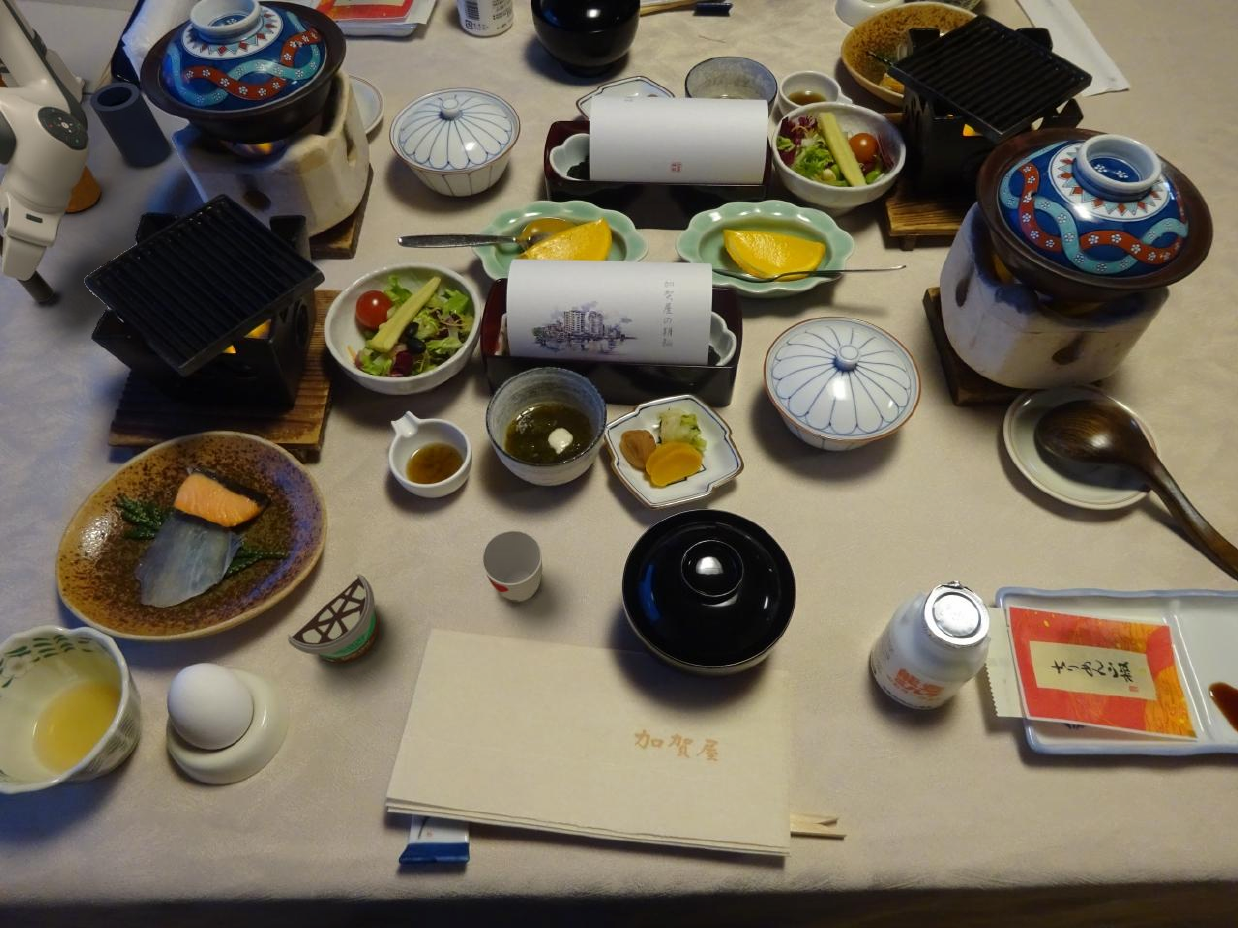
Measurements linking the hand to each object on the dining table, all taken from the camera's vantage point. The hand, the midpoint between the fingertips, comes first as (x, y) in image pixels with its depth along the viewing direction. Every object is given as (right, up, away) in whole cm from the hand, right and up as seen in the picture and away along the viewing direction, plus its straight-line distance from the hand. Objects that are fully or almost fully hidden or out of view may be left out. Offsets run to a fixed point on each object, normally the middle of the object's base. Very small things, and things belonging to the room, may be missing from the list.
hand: (7, 259), depth 135 cm
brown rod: (+1, -4, +8) cm, 9 cm away
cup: (+91, -53, -20) cm, 107 cm away
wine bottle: (-3, +18, +23) cm, 29 cm away
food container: (+69, -60, -25) cm, 95 cm away
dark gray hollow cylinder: (+6, +30, +30) cm, 43 cm away
